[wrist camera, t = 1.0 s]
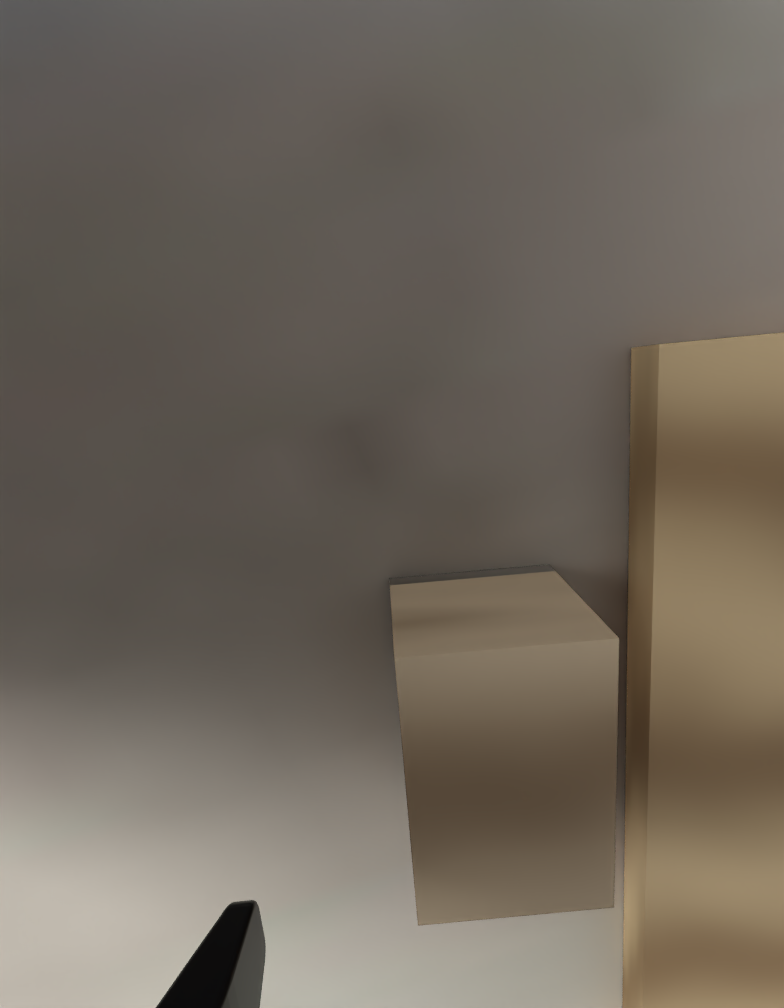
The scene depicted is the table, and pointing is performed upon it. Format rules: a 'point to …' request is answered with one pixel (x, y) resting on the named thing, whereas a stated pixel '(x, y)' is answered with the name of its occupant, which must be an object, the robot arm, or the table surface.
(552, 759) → the block
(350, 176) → the table surface
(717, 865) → the board
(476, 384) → the table surface
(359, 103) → the table surface
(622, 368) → the table surface
